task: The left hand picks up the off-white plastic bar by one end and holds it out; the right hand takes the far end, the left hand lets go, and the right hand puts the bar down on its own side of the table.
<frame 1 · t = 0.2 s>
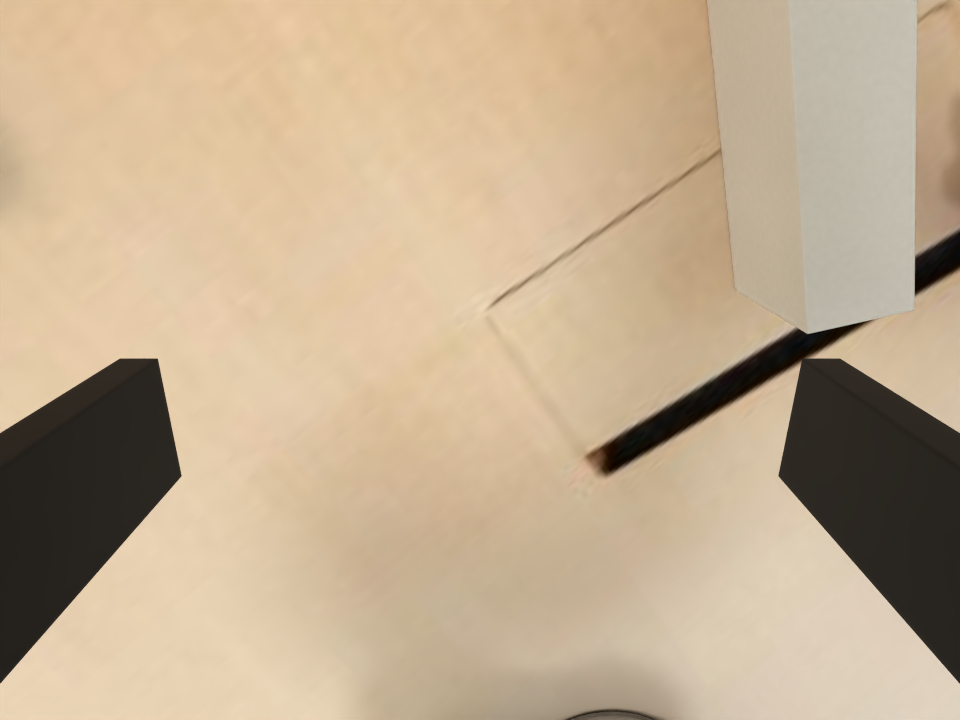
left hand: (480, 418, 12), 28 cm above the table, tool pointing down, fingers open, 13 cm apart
bar: (760, 70, 35), on the table
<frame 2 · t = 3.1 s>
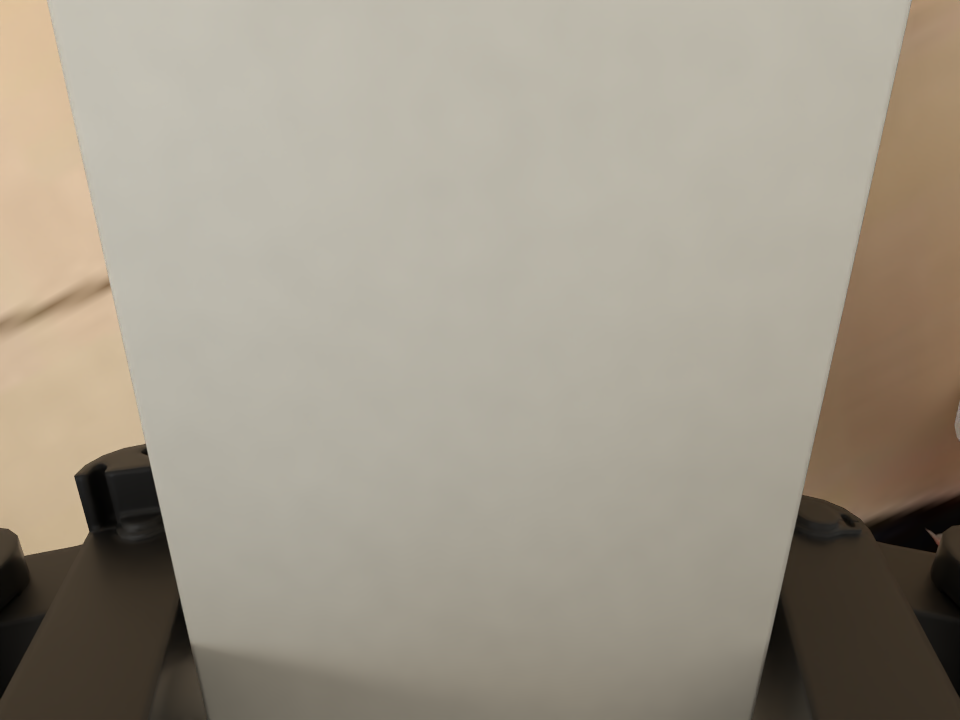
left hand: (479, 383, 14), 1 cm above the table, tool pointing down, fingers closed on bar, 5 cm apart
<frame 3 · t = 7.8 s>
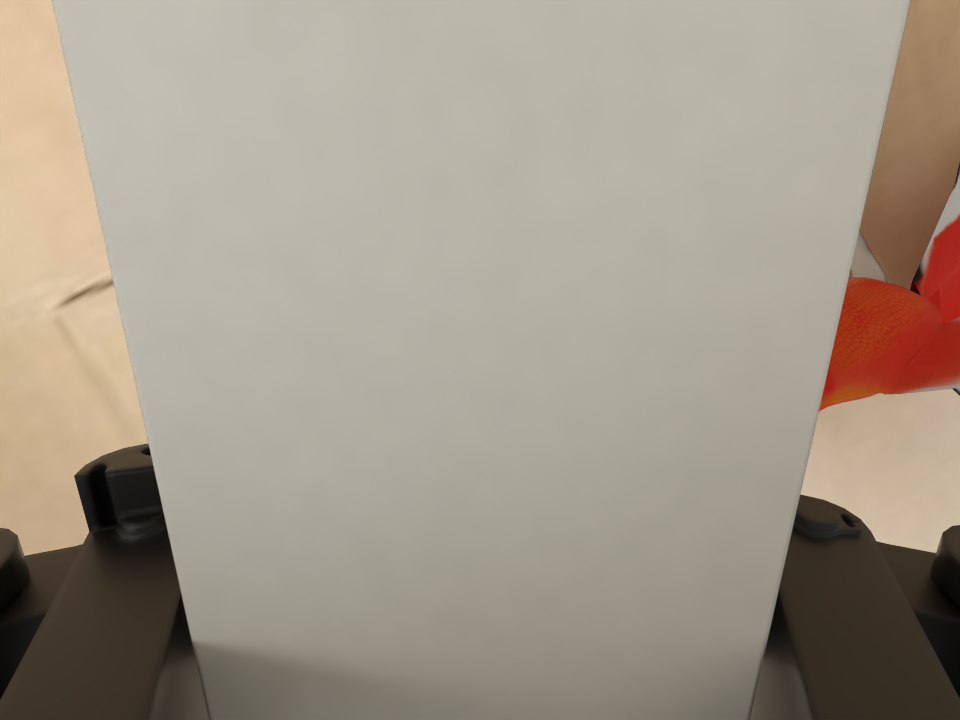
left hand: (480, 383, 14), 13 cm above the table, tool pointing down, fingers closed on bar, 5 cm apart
fish: (847, 261, 26), on the table
when the left hand's fingers open (13 cm above the table, at t = 8.7 s): bar stays where it is, held by the right hand.
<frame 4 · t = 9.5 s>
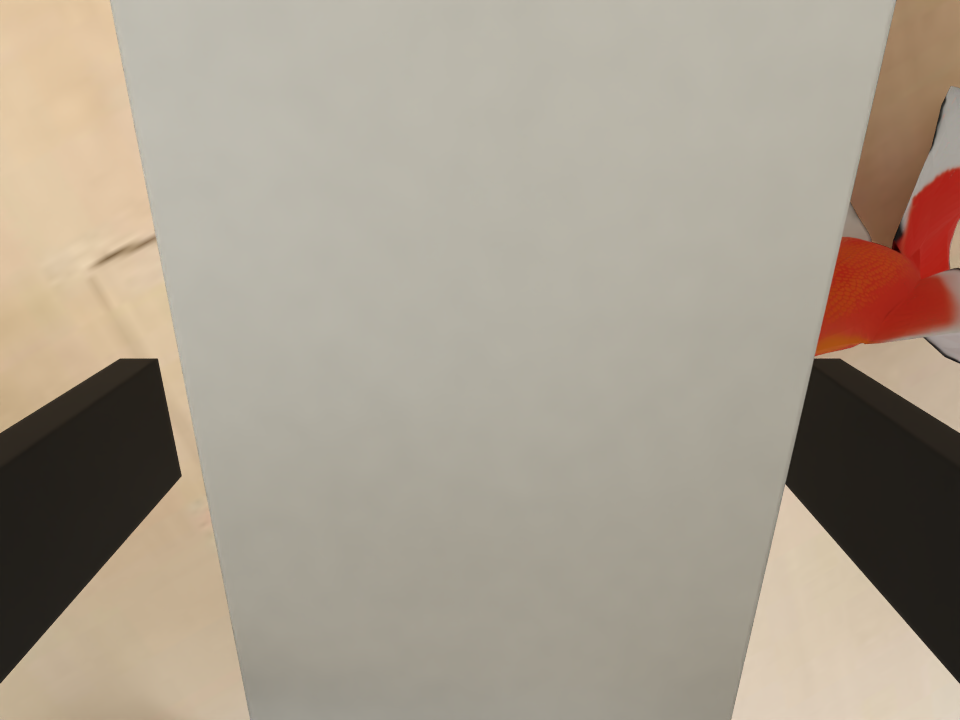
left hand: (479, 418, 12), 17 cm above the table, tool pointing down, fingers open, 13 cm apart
fish: (837, 227, 27), on the table
when the right hand's fingers open (5 cm above the table, at t = 15.0 s): bar stays where it is, on the table.
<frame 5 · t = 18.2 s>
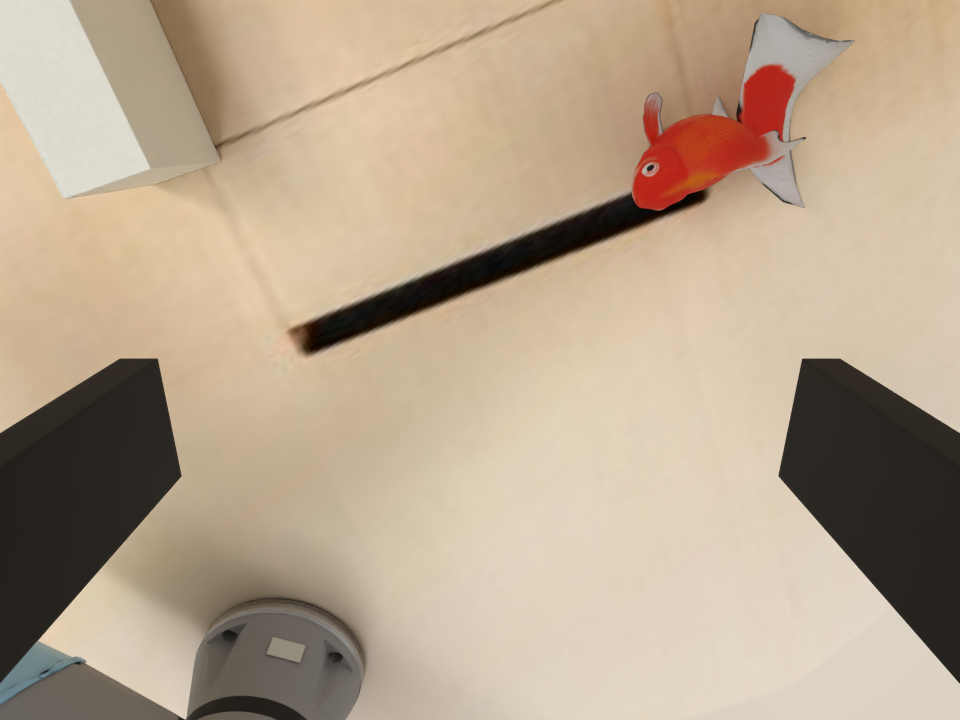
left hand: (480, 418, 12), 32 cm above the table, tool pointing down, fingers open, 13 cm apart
fish: (716, 122, 40), on the table
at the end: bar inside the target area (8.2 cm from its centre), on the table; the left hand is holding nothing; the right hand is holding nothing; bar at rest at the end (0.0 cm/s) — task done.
